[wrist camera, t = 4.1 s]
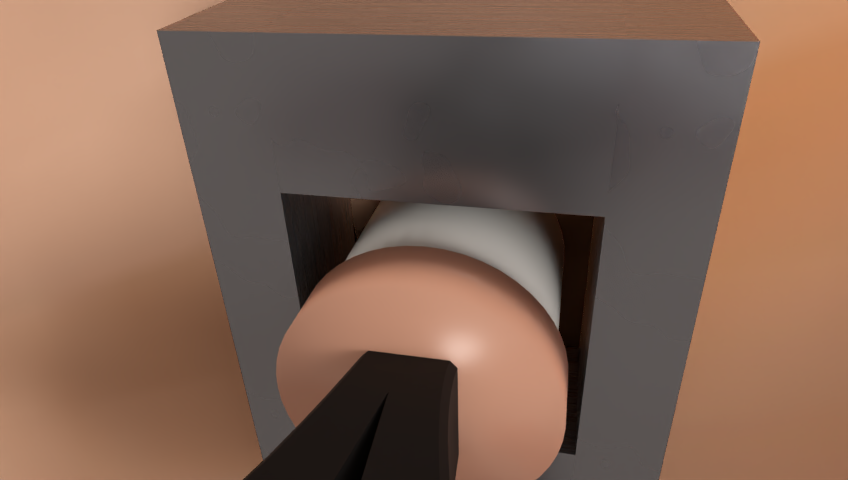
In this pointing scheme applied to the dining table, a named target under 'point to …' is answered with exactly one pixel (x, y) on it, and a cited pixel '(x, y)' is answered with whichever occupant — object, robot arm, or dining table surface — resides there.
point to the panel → (473, 167)
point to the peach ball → (448, 325)
